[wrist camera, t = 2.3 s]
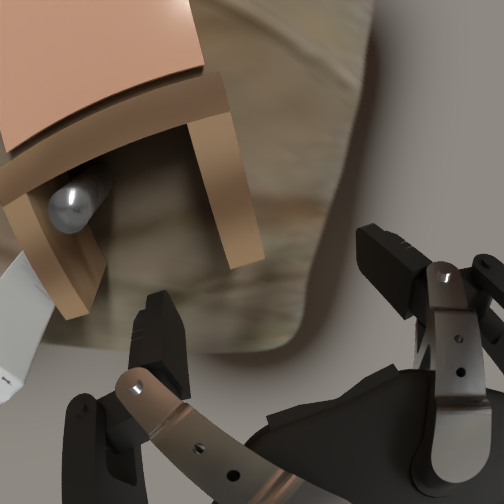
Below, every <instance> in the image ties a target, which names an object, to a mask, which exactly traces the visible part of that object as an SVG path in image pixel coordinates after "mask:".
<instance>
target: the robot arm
mask: <svg viewBox="0 0 504 504" xmlns="http://www.w3.org/2000/svg"><path fill="white" fill-rule="evenodd" d="M356 259H357V264H358V267H359V270H360V271H361V273H362V274H363V275H364V276H365V277H366V278H367V279H368V280H369V281H370V282H371V283H372V285H373V286H374V287H375V288H376V289H377V290H378V291H379V292H380V293H381V294H382V295H383V297H384V298H385V299H386V300H387V301H388V302H389V303H390V304H391V305H392V307H393V308H394V309H395V310H396V311H397V312H398V313H399V314H400V316H401V317H402V318H403V319H404V320H406V319H408V318H410V317H412V316H413V315H414V316H415V317H416V318H417V319H416V324H415V328H416V329H415V354H414V364H413V369H406V370H400V371H398V370H397V369H396V367H395V366H394V364H391V365H389V366H387V367H386V368H383V369H381V370H379V371H377V372H375V373H373V374H371V375H369V376H367V377H365V378H364V379H363V380H361V381H360V382H359V383H358V384H356V385H355V386H354V387H352V388H351V389H350V390H349V391H347V392H346V393H344V394H343V395H342V396H340V397H339V398H337V399H334V400H328V401H322V402H316V403H309V404H302V405H298V406H295V407H292V408H289V409H286V410H283V411H280V412H277V413H274V414H271V415H268V416H266V418H267V421H268V425H267V426H265V427H263V428H262V429H260V430H259V431H258V432H256V433H255V434H254V435H253V436H252V437H251V438H249V440H248V441H247V442H246V443H245V444H244V445H243V444H241V443H240V442H238V441H237V440H235V439H234V438H232V437H231V436H230V435H228V434H227V433H225V432H224V431H222V430H221V429H220V428H218V427H217V426H216V425H215V424H213V423H212V422H211V421H209V420H208V419H207V418H205V417H204V416H203V415H202V414H200V413H199V412H198V411H197V410H195V409H194V408H193V407H192V406H190V405H189V404H187V403H184V402H182V400H185V399H190V398H191V394H190V385H189V374H188V364H187V352H186V339H185V329H184V325H183V322H182V320H181V317H180V315H179V314H178V312H177V310H176V308H175V306H174V304H173V302H172V300H171V298H170V296H169V294H168V293H167V291H166V290H163V291H160V292H157V293H153V294H150V295H148V296H147V301H146V309H144V310H141V311H139V313H138V315H137V316H136V318H135V320H134V323H133V330H132V331H133V333H132V338H131V339H132V341H131V346H130V355H129V365H128V371H126V372H124V373H123V374H122V375H121V376H120V378H119V379H118V381H117V383H116V386H115V391H113V392H112V393H109V394H108V395H106V396H104V397H102V398H100V399H98V400H96V399H95V398H94V397H93V396H92V395H90V394H87V393H83V394H79V395H77V396H76V397H74V398H73V399H72V400H71V402H70V403H69V405H68V407H67V410H66V417H65V427H64V436H63V452H62V504H148V499H147V493H146V487H145V480H144V472H143V464H142V455H141V444H143V443H145V442H147V441H149V440H151V441H152V443H153V444H154V445H155V446H156V447H157V448H158V449H159V450H160V451H161V452H162V453H163V454H164V455H165V456H166V457H167V458H168V459H169V460H170V461H171V462H172V463H173V464H174V465H175V466H176V467H177V468H178V469H179V470H180V471H181V472H182V473H183V474H184V475H186V476H187V477H188V478H189V479H190V480H191V481H192V482H193V483H195V484H196V485H197V486H198V487H199V488H200V489H201V490H203V491H204V492H205V493H206V494H207V495H209V496H210V497H211V498H212V499H214V501H213V502H212V504H504V393H503V392H500V391H496V390H492V389H488V388H486V386H485V371H484V360H483V351H482V347H483V348H484V350H485V351H486V352H487V353H488V354H489V356H490V357H491V358H492V360H493V361H494V362H495V364H496V365H497V366H498V367H499V369H500V370H501V372H502V373H503V374H504V322H503V321H502V320H501V319H500V318H499V317H498V316H497V315H496V313H495V312H493V310H492V309H491V308H490V304H491V302H492V299H494V300H495V301H496V302H497V303H499V305H500V306H501V307H502V308H503V309H504V264H503V263H502V262H500V261H499V260H498V259H496V258H495V257H493V256H491V255H488V254H479V255H477V256H475V257H474V259H473V263H472V267H469V268H464V269H458V268H457V267H456V266H454V265H453V264H451V263H448V262H444V261H438V262H432V261H431V260H429V259H428V258H427V257H426V256H424V255H423V254H422V253H421V252H419V251H418V250H417V249H416V248H414V247H412V246H411V245H410V244H409V243H407V242H405V240H404V239H402V238H401V237H400V236H398V235H397V234H394V233H391V232H389V231H384V230H382V229H381V228H380V227H378V226H377V225H376V224H374V223H372V224H369V225H366V226H363V227H360V228H358V229H357V230H356Z"/></svg>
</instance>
